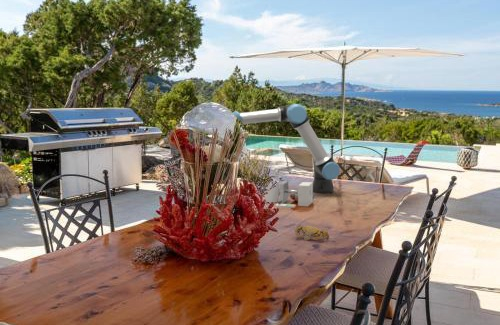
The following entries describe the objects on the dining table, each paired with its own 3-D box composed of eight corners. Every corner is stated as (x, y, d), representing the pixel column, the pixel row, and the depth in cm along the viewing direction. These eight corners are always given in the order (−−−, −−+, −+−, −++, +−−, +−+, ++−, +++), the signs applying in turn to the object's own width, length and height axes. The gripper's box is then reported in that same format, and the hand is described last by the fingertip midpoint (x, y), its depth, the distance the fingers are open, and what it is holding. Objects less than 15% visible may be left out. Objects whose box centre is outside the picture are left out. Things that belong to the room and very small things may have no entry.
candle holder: (279, 203, 277) (279, 183, 275) (263, 203, 277) (263, 183, 275) (279, 199, 286) (279, 180, 285) (263, 199, 287) (263, 180, 285)
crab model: (333, 237, 209) (334, 225, 208) (323, 244, 198) (324, 231, 197) (301, 232, 216) (302, 220, 215) (290, 239, 205) (290, 227, 204)
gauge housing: (275, 206, 268) (275, 186, 266) (283, 200, 285) (283, 180, 284) (305, 208, 262) (306, 187, 260) (312, 202, 279) (312, 182, 278)
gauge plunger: (277, 205, 268) (277, 185, 267) (285, 199, 285) (285, 180, 283) (294, 206, 265) (294, 186, 264) (301, 200, 282) (301, 181, 280)
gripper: (234, 145, 297) (257, 170, 294) (220, 148, 276) (245, 176, 273) (242, 137, 295) (265, 162, 292) (228, 140, 273) (253, 167, 270)
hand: (255, 169), depth 282 cm, fingers open, 10 cm apart
